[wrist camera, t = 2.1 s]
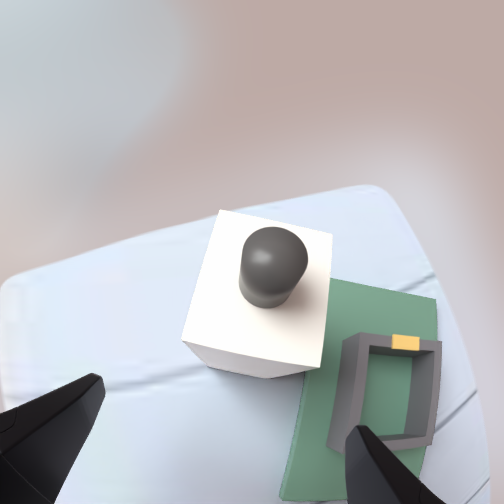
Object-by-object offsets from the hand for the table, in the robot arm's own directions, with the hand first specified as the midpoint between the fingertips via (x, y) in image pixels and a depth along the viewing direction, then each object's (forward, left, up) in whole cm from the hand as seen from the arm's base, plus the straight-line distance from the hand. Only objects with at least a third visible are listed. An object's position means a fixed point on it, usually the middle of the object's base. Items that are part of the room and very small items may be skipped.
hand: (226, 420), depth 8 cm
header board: (+2, -11, -11) cm, 16 cm away
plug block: (+5, 0, -11) cm, 12 cm away
